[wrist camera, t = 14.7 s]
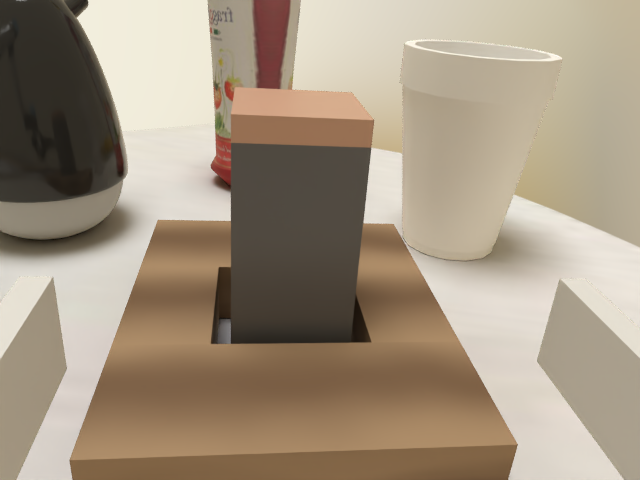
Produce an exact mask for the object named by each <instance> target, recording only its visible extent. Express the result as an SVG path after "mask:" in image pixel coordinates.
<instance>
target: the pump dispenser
mask: <svg viewBox="0 0 640 480" xmlns="http://www.w3.org/2000/svg"><path fill="white" fill-rule="evenodd" d="M87 6H88V0H0V231H2V232H4V233H7V234H9V235H13V236H16V237H21V238H27V239H38V240H46V239H58V238H64V237H69V236H72V235H76V234H79V233H81V232H84V231H86V230H88V229H90V228H92V227H94V226H95V225H97V224H98V223H100V222H101V221H102V220H104V219H105V218H106V217H107V216H108V215H109V214H110V212H111V211H112V210H113V208H114V207H115V205H116V203H117V201H118V199H119V196H120V193H121V189H122V184H123V179H124V178H125V177H126V175H127V173H128V162H127V154H126V148H125V143H124V139H123V134H122V130H121V126H120V122H119V118H118V115H117V111H116V107H115V104H114V101H113V98H112V95H111V92H110V89H109V86H108V83H107V81H106V78H105V76H104V74H103V70H102V68H101V66H100V63H99V61H98V58H97V56H96V54H95V52H94V49H93V47H92V45H91V43H90V41H89V39H88V37H87V35H86V33H85V31H84V30H83V28H82V26H81V24H80V23H79V21H78V20H77V17H78V16H79V15H80V14H81V13H82V12H83V11H84V10H85V9H86V8H87Z"/></svg>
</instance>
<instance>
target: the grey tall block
mask: <svg viewBox="0 0 640 480" xmlns="http://www.w3.org/2000/svg"><path fill="white" fill-rule="evenodd" d="M373 126H374V119H373V118H372V117H371V116H370V114H369V113H368V112H367V111H366V110H365V108H364V107H363V106H362V105H361V103H360V102H359V101H358V100H357V98H356V97H355V96H354V94H353V93H348V92H328V91H307V90H286V89H265V88H243V87H235V90H234V97H233V104H232V110H231V344H273V343H350V342H351V333H352V323H353V314H354V305H355V295H356V286H357V276H358V267H359V258H360V248H361V239H362V229H363V220H364V211H365V201H366V192H367V182H368V173H369V164H370V154H371V145H372V135H373Z"/></svg>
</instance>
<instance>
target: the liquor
mask: <svg viewBox="0 0 640 480" xmlns="http://www.w3.org/2000/svg"><path fill="white" fill-rule="evenodd" d="M300 2H301V0H208V12H209V26H210V38H211V52H212V67H213V87H214V107H215V134H216V157H215V158H214V160H213V162H212V164H211V168H212V170H213V171H214V172H215V173H216V174H218V175H219V176H220V177H221V178H222V179H223V180H224V181H225V182H226V183H227V184H228V185H230V186H231V110H232V104H233V97H234V90H235V87H243V88H265V89H286V90H292V81H293V71H294V60H295V51H296V41H297V31H298V23H299V13H300Z"/></svg>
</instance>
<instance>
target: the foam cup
mask: <svg viewBox="0 0 640 480" xmlns="http://www.w3.org/2000/svg"><path fill="white" fill-rule="evenodd" d="M561 63H562V58H561V57H560V56H558V55H555V54H551V53H547V52H543V51H539V50H533V49H526V48H520V47H513V46H506V45H497V44H488V43H479V42H466V41H465V42H464V41H452V40H414V41H407V42H406V43H405V44H404V52H403V59H402V68H401V75H400V83H401V84H403V178H402V229H403V230H404V231H403V238H404V240H405V241H406V242H407V244H408V245H409V246H411V247H412V248H414V249H416V250H418V251H420V252H422V253H424V254H427V255H430V256H434V257H438V258H442V259H447V260H461V261H468V260H474V259H480V258H484V257H485V256H487V255H488V254H489V253H491V252H492V249H493V245H494V244H495V243H496V240H497V237H498V235H499V232H500V229H501V227H502V224H503V221H504V219H505V216H506V213H507V211H508V208H509V205H510V203H511V200H512V197H513V195H514V192H515V189H516V187H517V184H518V181H519V179H520V176H521V173H522V171H523V168H524V165H525V163H526V160H527V157H528V155H529V152H530V149H531V147H532V144H533V141H534V139H535V136H536V134H537V131H538V128H539V126H540V123H541V120H542V118H543V115H544V112H545V110H546V107H547V104H548V102H549V101H550V100H553V96H554V92H555V89H556V84H557V80H558V76H559V71H560V67H561Z"/></svg>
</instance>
